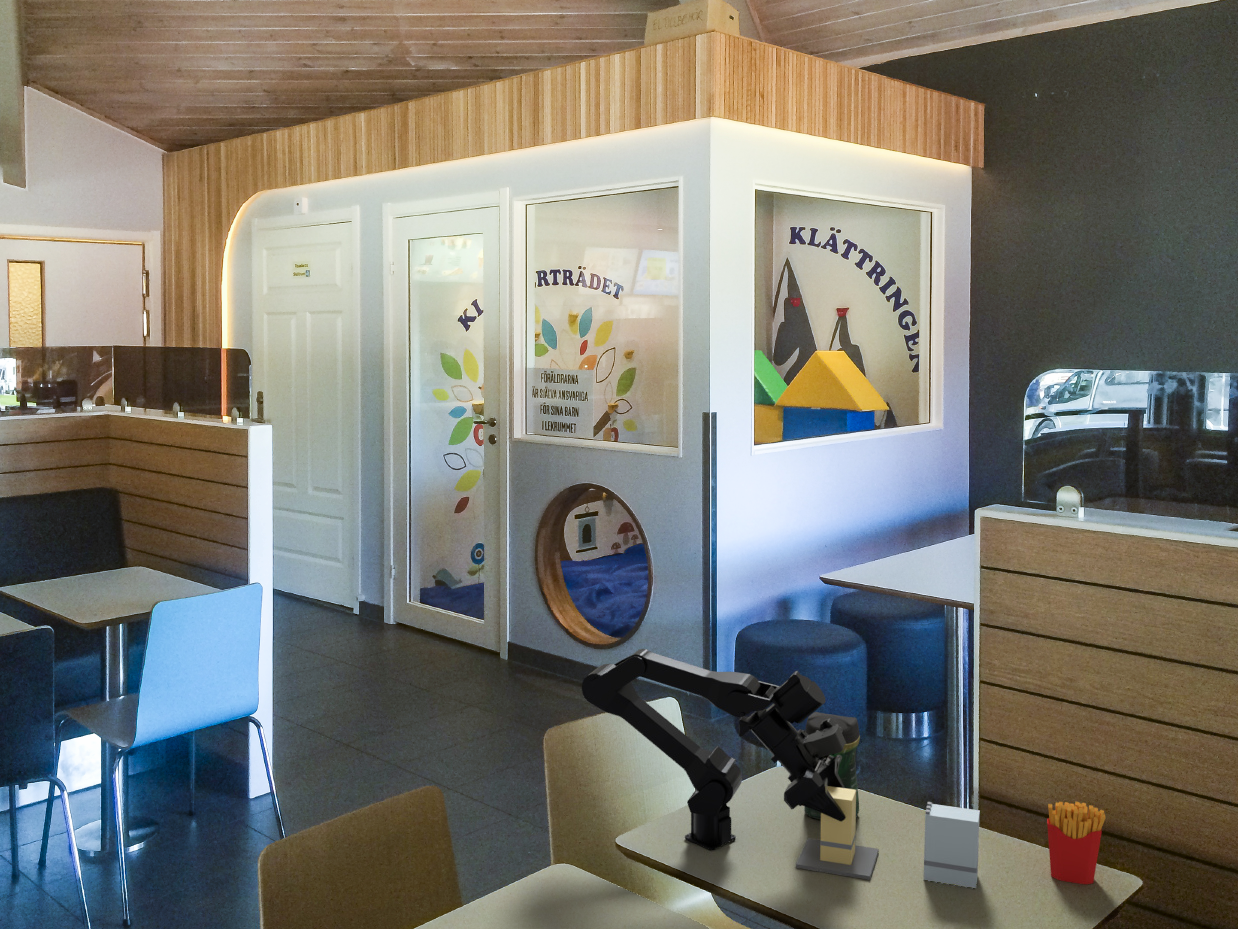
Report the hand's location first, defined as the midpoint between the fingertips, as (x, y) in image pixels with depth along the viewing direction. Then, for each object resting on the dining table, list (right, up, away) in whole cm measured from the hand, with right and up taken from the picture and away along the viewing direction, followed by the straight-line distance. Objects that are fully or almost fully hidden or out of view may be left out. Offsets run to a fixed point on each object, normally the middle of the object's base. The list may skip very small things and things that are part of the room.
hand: (847, 812), depth 183 cm
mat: (-1, -8, +2) cm, 9 cm away
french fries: (+35, -9, -5) cm, 37 cm away
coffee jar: (+1, -7, +19) cm, 20 cm away
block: (-1, -8, +1) cm, 8 cm away
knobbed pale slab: (+16, -9, -5) cm, 19 cm away
